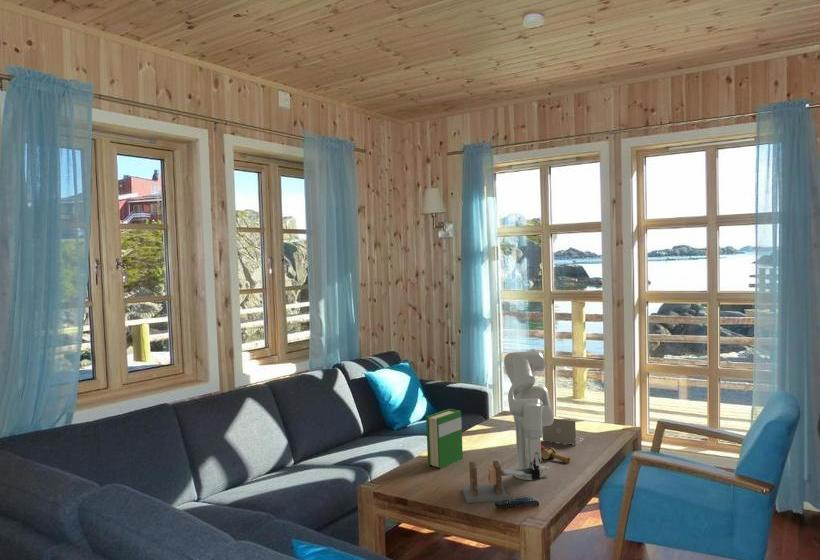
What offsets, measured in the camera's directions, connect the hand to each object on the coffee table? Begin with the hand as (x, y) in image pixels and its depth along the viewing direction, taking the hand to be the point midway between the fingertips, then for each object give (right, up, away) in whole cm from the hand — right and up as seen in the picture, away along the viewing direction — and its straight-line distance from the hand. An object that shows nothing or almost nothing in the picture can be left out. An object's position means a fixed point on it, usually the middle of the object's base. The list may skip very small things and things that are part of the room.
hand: (534, 476), depth 259 cm
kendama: (+16, -5, +41) cm, 44 cm away
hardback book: (-34, -7, +42) cm, 55 cm away
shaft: (-9, -1, 0) cm, 9 cm away
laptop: (+29, -4, +71) cm, 77 cm away
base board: (-20, -8, 0) cm, 22 cm away
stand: (-20, -6, 0) cm, 21 cm away
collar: (-18, -2, 0) cm, 18 cm away
